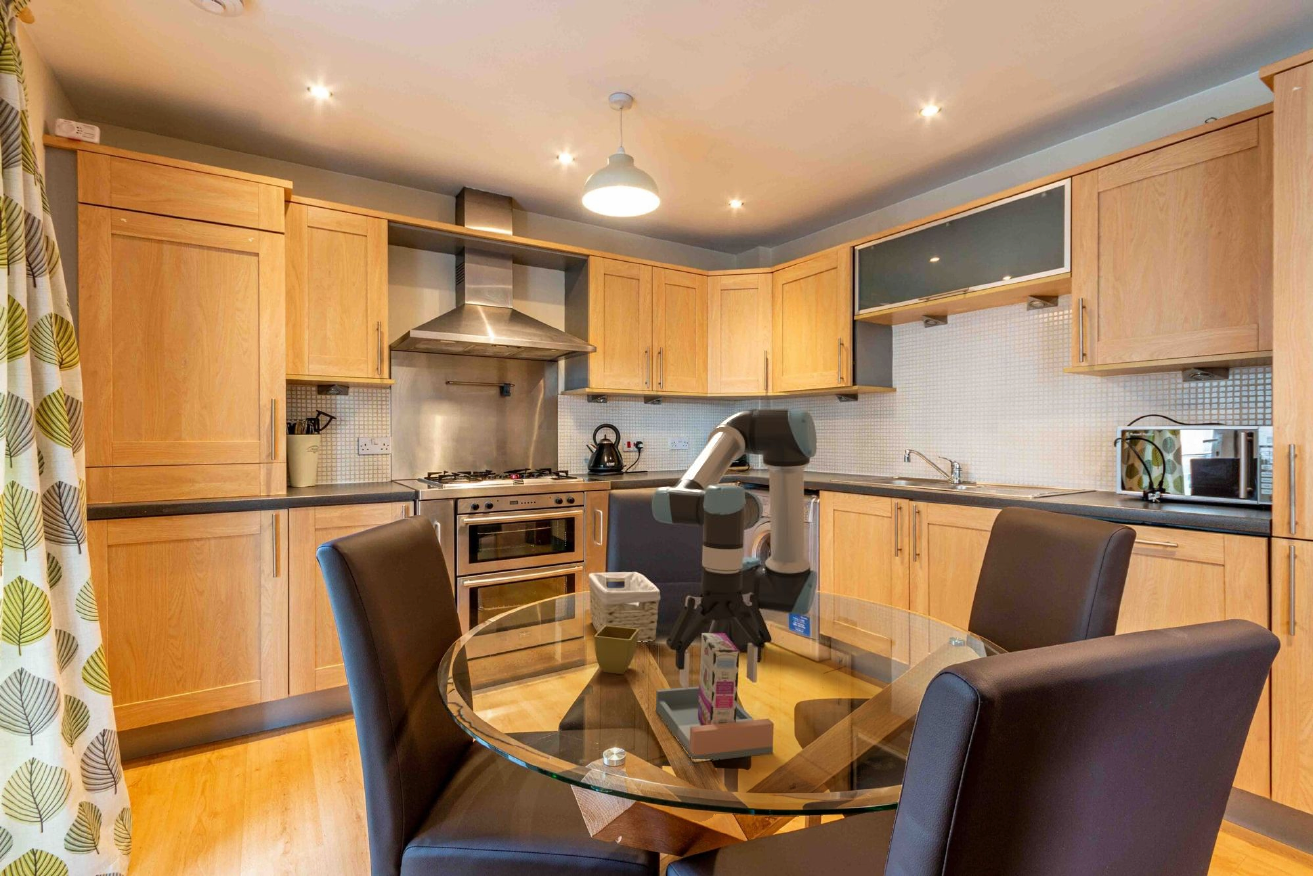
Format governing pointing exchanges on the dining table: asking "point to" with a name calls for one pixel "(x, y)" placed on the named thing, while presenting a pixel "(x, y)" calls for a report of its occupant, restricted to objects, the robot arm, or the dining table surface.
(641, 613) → the storage basket
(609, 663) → the flower pot
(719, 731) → the gray drawer tray
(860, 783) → the dining table surface
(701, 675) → the candy bar box
